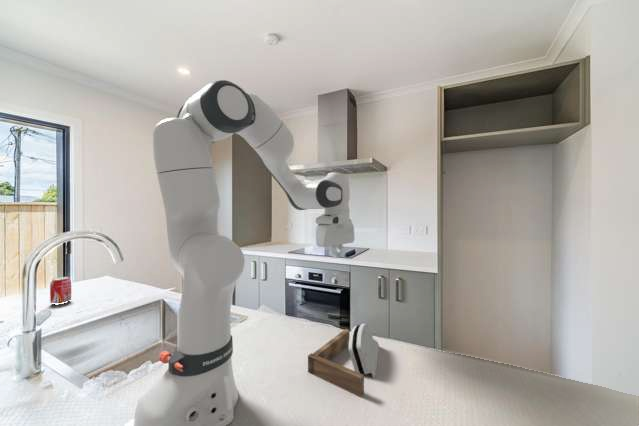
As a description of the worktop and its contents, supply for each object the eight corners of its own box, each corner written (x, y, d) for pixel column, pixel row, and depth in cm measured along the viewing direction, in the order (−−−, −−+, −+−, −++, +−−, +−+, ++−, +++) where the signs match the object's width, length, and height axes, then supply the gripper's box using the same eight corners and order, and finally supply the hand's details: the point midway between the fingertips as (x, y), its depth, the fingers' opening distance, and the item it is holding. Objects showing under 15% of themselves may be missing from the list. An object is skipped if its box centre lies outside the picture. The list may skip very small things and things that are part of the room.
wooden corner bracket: (361, 397, 60) (361, 378, 60) (307, 372, 69) (307, 355, 69) (390, 358, 76) (390, 343, 76) (344, 341, 85) (344, 328, 85)
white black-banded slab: (374, 378, 67) (361, 341, 67) (357, 381, 68) (345, 344, 69) (379, 346, 82) (368, 316, 83) (365, 348, 84) (355, 319, 85)
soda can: (50, 303, 121) (50, 278, 121) (71, 299, 126) (71, 275, 126) (49, 307, 116) (49, 281, 116) (71, 303, 121) (70, 278, 120)
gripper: (344, 218, 101) (344, 253, 101) (312, 218, 85) (312, 260, 85) (358, 218, 97) (358, 254, 97) (328, 219, 81) (327, 262, 81)
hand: (336, 257), depth 91 cm, fingers closed
